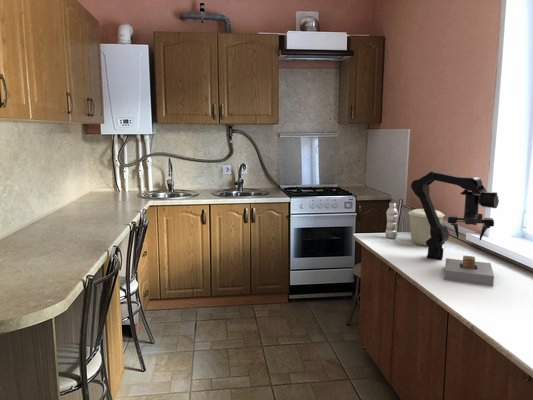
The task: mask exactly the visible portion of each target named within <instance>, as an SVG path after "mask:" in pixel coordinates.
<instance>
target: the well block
mask: <svg viewBox="0 0 533 400" xmlns="http://www.w3.org/2000/svg"><path fill="white" fill-rule="evenodd" d="M444 263H445V265H444V281H445V280H446V281H452V282H453V281H454V282H461V283H469V284H470V283H471V284H478V285H483V286H494V281H495V274H494V270H493V267H492V264H491V262H485V261H476V260H475V267H474V269H466V268H462V266H463V259H459V258H458V259H456V258H447V257H446V258H445V262H444Z"/></svg>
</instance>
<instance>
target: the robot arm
mask: <svg viewBox="0 0 533 400" xmlns="http://www.w3.org/2000/svg"><path fill="white" fill-rule="evenodd" d="M435 181H437V182H440V183H441V182H442V183H445V184H449V185H455V186H458V187H460V188H462V189H463V191H461V192H460V195H461V196H464V207H463V208H464V210H463V217H458V215H454V214H453V215H452V214H449V215H447V223H448V224H450V225H451V226H453V227H454V231H455V236H456V238H457V239H459V223H464V224H466V225H467V226H468V225H473V226H477V225H478V224H481V227H480V228H481V229H480V233H479V241H481V240H482V239H483V236H484V235H485V233H486V231H487V230H488V229H491V227H495V220H494V219H493V217H483V213H479V209H480V208H479V207H480V206H481V207H482V208H489V209H497V208H498V206H499V202H500V200H499V196H498V192H496V191H495V192H494V191H493V192H492V191H491V192H490V191H487V189H486V188H485V185H483V181H482V179H481V178H480V177H478V176H459V175H454V174H449V173H443V172H440V171H436V170H435V171H429V172H428V173H427V174H425V175H424V176H422V177H420V178H419V179H415V180H413V181H412V182H411V184H410V188H411V190H412V192H413V193H414V195H415V196H416V197H418V199H419V202H420V203H421V206H422V209H424V212H425V214H426V217H427V219H428V222H429V224H430V235H431V238H430V239H428V240H427V241H426V245H427V246H426V247H428V248H427V256H426V258H427V259H431V260H440V261H441V260H443V259H442V258H444V248H443V245H444V244H445V243H446V242H447V241H448V240H449V238H450V236H449V235H450V232H449V230H448V227H447V225H443V224H442V225H441V223H440V221H439V219H438V216H437V214H436V211H435V210H436V209H435V207H434V204H433V202H432V199H431V196H430V191H431V189H430V185H431V184H433V183H434V182H435ZM458 222H459V223H458Z"/></svg>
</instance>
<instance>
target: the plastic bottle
mask: <svg viewBox="0 0 533 400" xmlns="http://www.w3.org/2000/svg"><path fill="white" fill-rule="evenodd" d="M388 204H389V205H388V206H389V207H388V208H387V210H386V229H385V232H384V233H385V236H386V238H388V239H396V238H397V237H398V226H397V225H398V217H399V211H398V208H397V202H389V203H388Z"/></svg>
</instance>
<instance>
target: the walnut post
mask: <svg viewBox="0 0 533 400" xmlns="http://www.w3.org/2000/svg"><path fill="white" fill-rule="evenodd" d="M475 257H476V256H473V255H463V256H462V260H463V266H462V268H466V269H474V267H475V261H476V258H475Z"/></svg>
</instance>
